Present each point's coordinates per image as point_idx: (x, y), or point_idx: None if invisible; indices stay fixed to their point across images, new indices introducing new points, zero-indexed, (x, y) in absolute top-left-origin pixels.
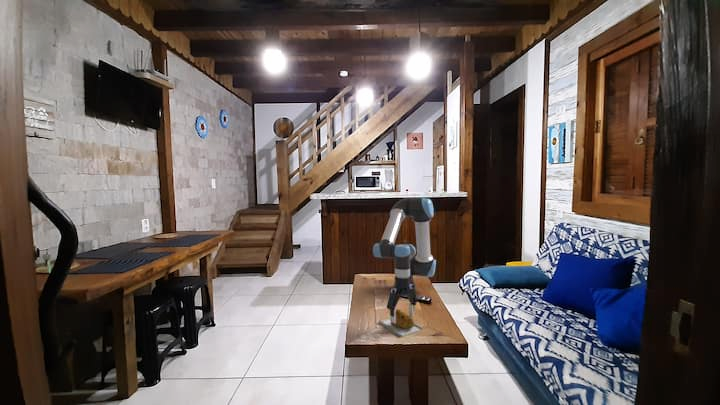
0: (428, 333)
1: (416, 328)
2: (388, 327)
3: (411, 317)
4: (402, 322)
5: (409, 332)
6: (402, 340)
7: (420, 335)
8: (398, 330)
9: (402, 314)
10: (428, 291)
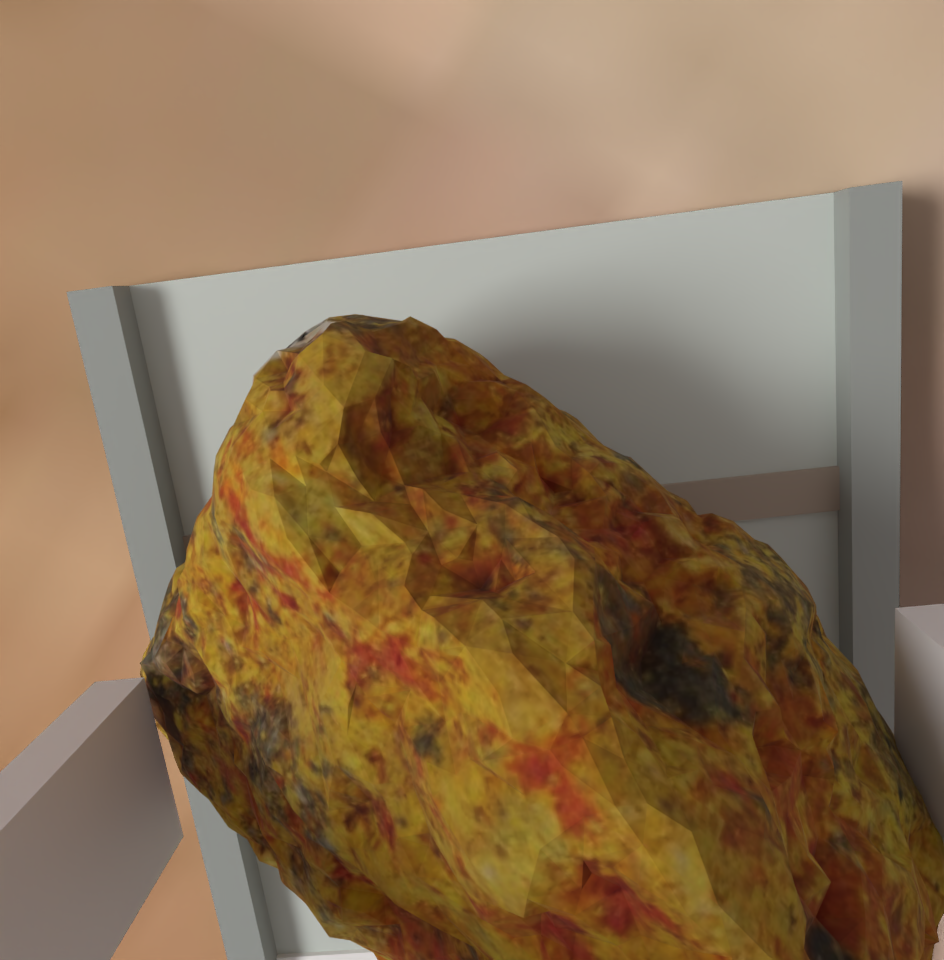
0: (43, 42)
1: (228, 378)
2: (891, 723)
3: (264, 515)
4: (679, 521)
5: (532, 265)
6: (934, 14)
7: (310, 42)
8: (743, 487)
9: (658, 760)
10: None
